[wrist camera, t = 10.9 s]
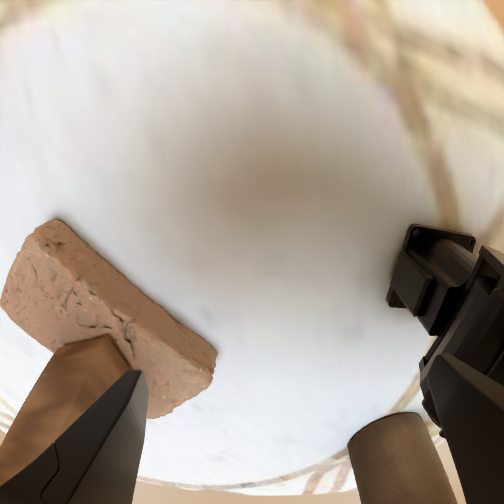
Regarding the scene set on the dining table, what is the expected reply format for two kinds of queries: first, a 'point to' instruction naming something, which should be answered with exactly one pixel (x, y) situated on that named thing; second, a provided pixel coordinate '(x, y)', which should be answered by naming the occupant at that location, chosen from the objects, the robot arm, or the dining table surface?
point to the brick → (103, 315)
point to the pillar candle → (398, 463)
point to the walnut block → (59, 400)
